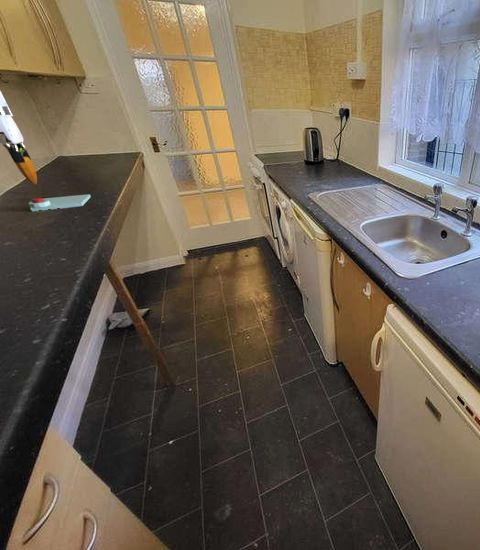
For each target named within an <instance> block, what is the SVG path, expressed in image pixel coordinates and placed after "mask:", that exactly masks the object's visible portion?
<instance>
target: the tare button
mask: <svg viewBox="0 0 480 550" xmlns="http://www.w3.org/2000/svg"><path fill="white" fill-rule="evenodd" d="M43 199H44V198H42V197H35V198H32V199H31V201H33V203H40V202H44V201H43Z"/></svg>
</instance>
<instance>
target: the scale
mask: <svg viewBox="0 0 480 550" xmlns="http://www.w3.org/2000/svg"><path fill="white" fill-rule="evenodd" d="M91 197H92V196H91V194H79V195H67V196H55V197H45V198H42V199H43V201H44V202H40V203H33V201H32V200H31V201H29V202H27V204H28V206H29V207H30V208H29V209H30V211H31V212H40V211H39V210H42V211H49V210H48V209H51V210H57V208H60V209H69V208H77V207H83V206H84V205H85V204H86V203H87V202H88V201H89V199H91Z"/></svg>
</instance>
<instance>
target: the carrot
mask: <svg viewBox="0 0 480 550" xmlns="http://www.w3.org/2000/svg"><path fill="white" fill-rule="evenodd" d="M20 152H21V154H22V156H23V152H24V150H22V148H20ZM23 158H24V160H25V162H24V163H15V162H14V164H15V166H16V167H17V168H18V170H19V172H20V173H21V174H22V176H24V177H25V179H27V181H28V182H29V183H31V184H32V185H37V183H38V175H37V172H36V169H35V167H34V164H33V162H32V159H31V160H30V159H29V158H28V157H23Z"/></svg>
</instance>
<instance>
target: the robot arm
mask: <svg viewBox="0 0 480 550" xmlns="http://www.w3.org/2000/svg"><path fill="white" fill-rule="evenodd" d="M13 117H14V114H13V113H12V110H11V108H10V106H9V104H8V103H7V101H6V99H5V96H4V95H3V92H2V91H1V90H0V145H2V146H3V147H4V148H5V149H6V150H7V152H8V153H9V155H10V158H11V159H12V161H13V163H14V164H15V163H24V162H25V160H24V158H23V157H28V158H29V159H30V160H31V161H32V158H31V156H30V154H29V152H28V150H27V148H26V146H25V144H24V137H23V134H22V132H21V130H20V129H19V126H18V125H17V123H16V122H15V120H14V118H13ZM20 148H22V150H24V152H23V156H22V154H21V152H20Z"/></svg>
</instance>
